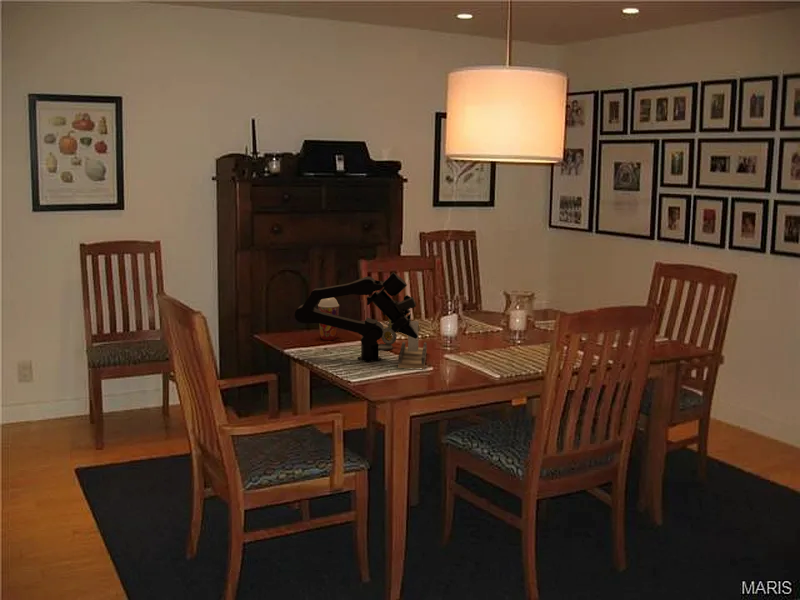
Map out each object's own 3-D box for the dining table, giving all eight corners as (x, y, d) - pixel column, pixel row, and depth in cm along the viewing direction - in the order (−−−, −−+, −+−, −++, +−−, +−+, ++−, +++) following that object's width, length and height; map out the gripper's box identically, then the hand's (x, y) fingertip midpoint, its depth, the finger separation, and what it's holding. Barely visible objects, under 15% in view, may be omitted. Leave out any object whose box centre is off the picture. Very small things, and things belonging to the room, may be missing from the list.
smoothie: (319, 336, 345) (319, 287, 342) (340, 336, 345) (340, 287, 341) (316, 340, 337) (316, 290, 334) (337, 341, 337) (338, 291, 333)
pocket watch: (375, 350, 323) (375, 324, 321) (374, 345, 331) (375, 319, 329) (396, 350, 323) (397, 324, 321) (396, 345, 332) (396, 320, 330)
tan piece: (424, 369, 297) (424, 358, 296) (398, 368, 297) (398, 357, 297) (426, 352, 320) (426, 342, 320) (402, 352, 321) (402, 341, 320)
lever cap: (407, 351, 306) (408, 323, 304) (408, 348, 311) (408, 320, 309) (419, 351, 306) (420, 324, 304) (420, 348, 311) (420, 321, 309)
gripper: (401, 294, 295) (432, 326, 297) (404, 285, 314) (434, 315, 315) (378, 316, 297) (409, 347, 299) (382, 305, 316) (412, 336, 317)
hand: (417, 336), depth 307 cm, fingers closed on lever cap, 5 cm apart
